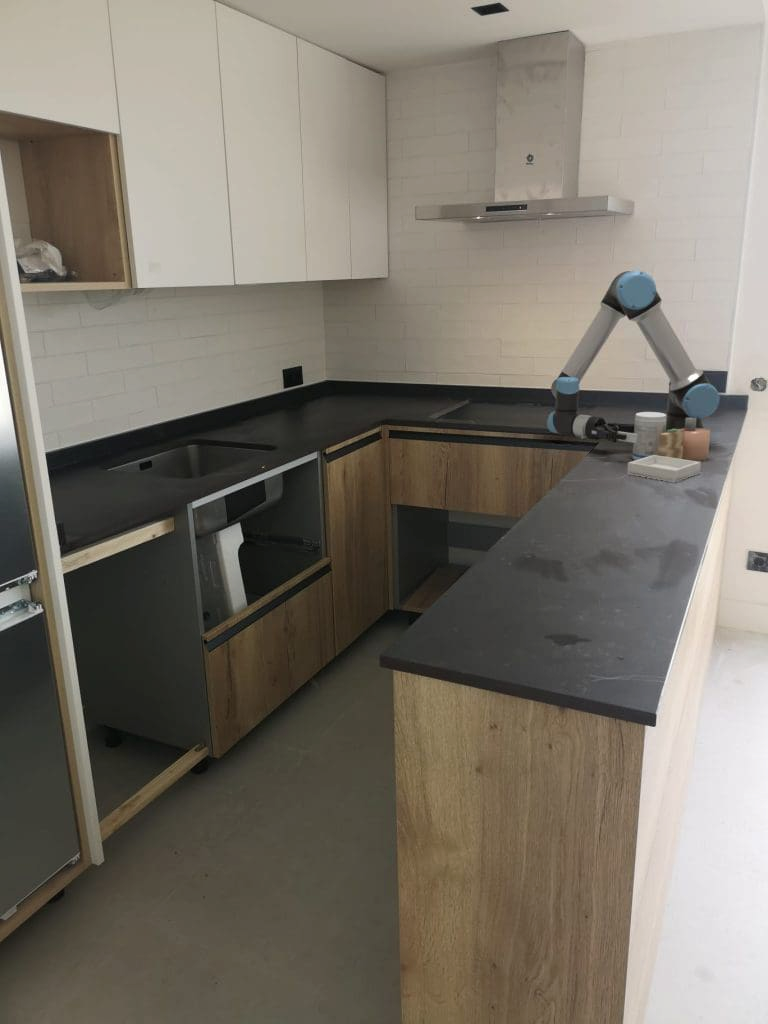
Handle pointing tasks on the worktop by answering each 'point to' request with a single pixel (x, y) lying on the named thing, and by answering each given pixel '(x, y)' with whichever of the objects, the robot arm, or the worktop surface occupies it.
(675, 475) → the tray
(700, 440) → the peach lotion bottle
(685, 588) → the worktop surface
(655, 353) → the robot arm
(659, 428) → the supplement tub
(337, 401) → the worktop surface
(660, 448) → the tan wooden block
